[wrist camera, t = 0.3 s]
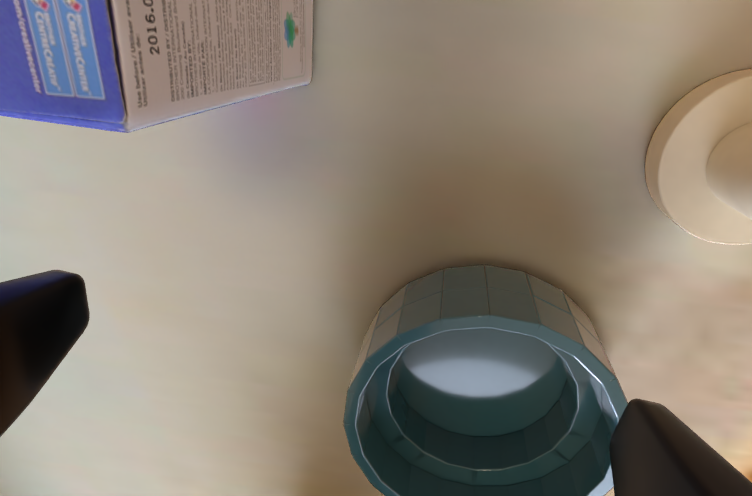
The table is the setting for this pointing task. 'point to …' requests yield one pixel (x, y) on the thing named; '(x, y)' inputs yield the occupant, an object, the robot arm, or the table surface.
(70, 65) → the ink cartridge box
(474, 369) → the bowl
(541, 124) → the table surface
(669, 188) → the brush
